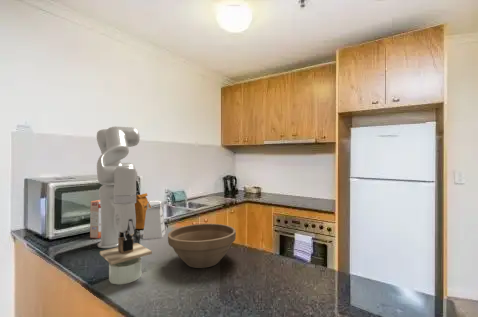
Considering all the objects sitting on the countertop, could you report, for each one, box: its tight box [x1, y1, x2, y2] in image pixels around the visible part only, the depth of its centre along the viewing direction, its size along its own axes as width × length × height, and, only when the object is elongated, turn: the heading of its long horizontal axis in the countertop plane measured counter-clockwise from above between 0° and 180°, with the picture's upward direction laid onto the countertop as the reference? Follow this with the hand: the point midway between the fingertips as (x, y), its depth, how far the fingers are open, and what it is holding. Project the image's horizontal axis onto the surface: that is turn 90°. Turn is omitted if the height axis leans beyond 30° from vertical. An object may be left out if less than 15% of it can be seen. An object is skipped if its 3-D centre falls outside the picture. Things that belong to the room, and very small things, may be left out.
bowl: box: [108, 257, 143, 285], centre depth 94 cm, size 11×11×6 cm
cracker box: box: [89, 199, 101, 239], centre depth 149 cm, size 14×6×21 cm, turn 168°
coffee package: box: [134, 192, 152, 230], centre depth 164 cm, size 10×12×22 cm
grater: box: [142, 200, 166, 240], centre depth 146 cm, size 10×10×20 cm
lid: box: [99, 237, 153, 265], centre depth 94 cm, size 14×14×6 cm
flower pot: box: [167, 223, 237, 269], centre depth 108 cm, size 28×28×13 cm
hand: (125, 248), depth 94 cm, fingers closed on lid, 4 cm apart
